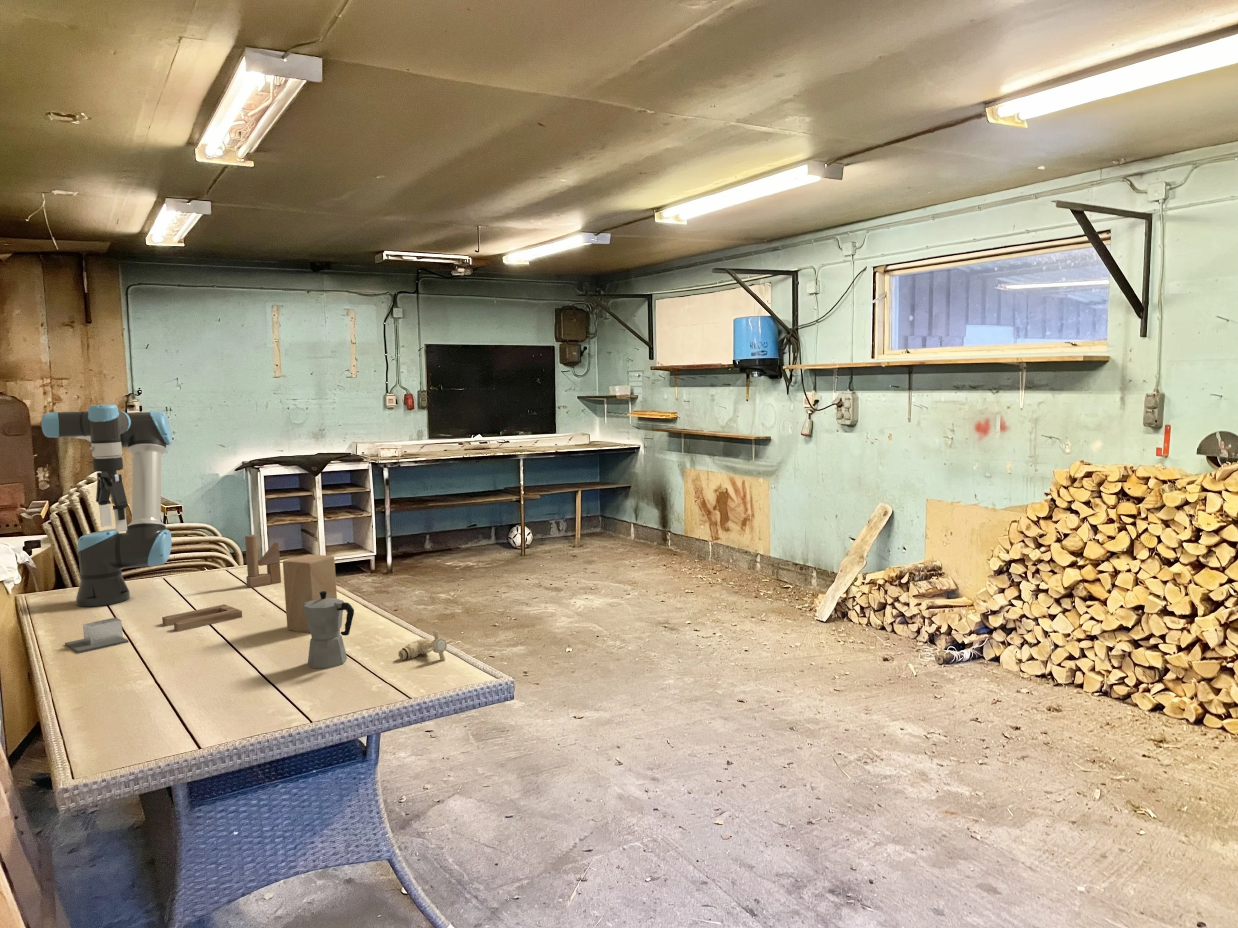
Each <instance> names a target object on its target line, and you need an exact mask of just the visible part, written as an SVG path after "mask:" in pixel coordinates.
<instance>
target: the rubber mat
mask: <svg viewBox="0 0 1238 928" xmlns="http://www.w3.org/2000/svg"><path fill="white" fill-rule="evenodd" d="M127 643H129V640H128V639H127V638H125V637H123V638H118V639H114V640H110V641H106V642H102V643H97V644H93V645H90V644H87V643H85V642H84V638H81V639H76V640H73V641H72V640H70V641H67V642H64V645H65V646H66V647H67V648H69V649H70V650H72V651H74V652H75V653H77V654H82V653H86V652H91V651H95V650H100V649H104V648H109V647H112V646H117V645H122V644H127Z"/></svg>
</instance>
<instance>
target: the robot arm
mask: <svg viewBox="0 0 1238 928" xmlns="http://www.w3.org/2000/svg"><path fill="white" fill-rule="evenodd" d="M41 430H42V433H43V435H44V437H46V438H56V439H59V438H71V439H72V438H73V439H81V440H86V441H87V442H89V443H90V445H91V446H90V447H89V450H90V451H91V455H92V457H93V460H92V467H93V468H92V469H93V471H95V472H96V479H97V481H96V493H95V495H96V496H95V502H96V503H97V504H98V508H99V518H100V519H99V520H100V527H101V528H105V527H106V528H107V527H112V526H113V524H112V522H113V521H112V512H111V504H112V502H113V505H114V506H113V507H112V510H113V511H114V513H113V514H114V522H115V528H113V529H112V528H111V529H109V528H108V529H104V530H100V531H99V530H98V531H94V532H90V533H87V534H83V535H82V536H80V537H79V538H78V540H77V551H76V552H77V555H78V563H79V565H78V566H79V575H80V583H79V586H78V590H77V594H76V597H75V598H76V599H75V601H76V606H78V607H86V608H87V607H89V608H90V607H99V606H101V607H102V606H108V605H113V604H119V603H121V602H124V601H128V600H129V599H130V597H131V595H130V594H131V593H130V590H129V587H128V585H127V583H126V582H125V579H124V576H123V573H122V572H123V571H122V569H127V568H129V569H131V568H140V567H153V566H160V565H161V566H162V565H164V564H165V563H167V561H168V560H169V557H170V555H171V551H172V550H171V549H172V543H173V541H172V533H171V530H169V529H167V528H166V527H167V525H166V524H165V523H164V522H162V519H161V517H162V515H161V513H162V507H161V506H162V455H163V454H165V452H167V446H170V445H172V444H173V436H172V429H171V424H170V421H169V419H168V417H167V415H166V414H165V413H164V412H161V411H159V412H158V411H149V412H147V411H146V412H145V411H143V412H125V411H123V410H119V408H118V405H116V404H113V403H112V404H111V403H110V404H108V403H107V404H90V405H89V406H88V408H87V410H86V411H85V410H83V411H58V412H57V411H55V412H53V411H52V412H45V413H44V414H43V415H42V417H41ZM124 447H126V448H127V450H128V452H129V453H130V454H131V455H132V473H131V474H132V475H131V477H132V486H131V487H132V488H131V489H132V490H131V522H130V523H129V524H127V523H128V521H127V513H126V512H127V511H126V510H127V509H126V508H127V507H128V506H129V502H128V500H127V496H126V492H125V487H124V483H123V479H122V474H121V473H120V474H119V473H117V471H121V470H123V469H124V461H123V460H124V459H123V457H122V455H123V448H124ZM110 497H111V499H112V501H111V500H110Z"/></svg>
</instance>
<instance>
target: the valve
mask: <svg viewBox="0 0 1238 928" xmlns="http://www.w3.org/2000/svg"><path fill="white" fill-rule="evenodd" d="M432 633H433V638H434V639H433V640H431V639H427V638H420V639H416V640H415V641H412V642H411V643H409V644H407V645H405V646H404V647H402V648H401V649H400V650H399V651H398V657H399V659H400V660H402V661H404V660H409V659H414V658H415V659H416V657H418V656H419V655H426V654H430V653H432V652H433V653H435V654H437V653H438V655H439V659H440V661H445V660H446V657H445V654H444V652H445V651H446V650H447V648H448V644H451V643H453V642H454V640H453V639H452V638H451V639H447V640H446V639H444V638H440V636H439V631H438V630H433V631H432Z"/></svg>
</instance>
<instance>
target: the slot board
mask: <svg viewBox="0 0 1238 928" xmlns="http://www.w3.org/2000/svg"><path fill="white" fill-rule="evenodd" d="M161 618H162V624H163V625H164V626H167V627H168V626H173V627H174V630H176V631H177V632H182V631H187V630H191V629H196V628H200V627H204V626H209V625H212V624H217V623H222V622H227V621H231V620H236V619H241V618H243V610H241V609H238V608H235V607H233V606H231V605H227V604H220V605H215V606H209V607H206V608H200V609H196V610H195V609H194V610H190V611H186V612H182V613H177V614H171V615H167V616H163V617H161Z"/></svg>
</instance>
